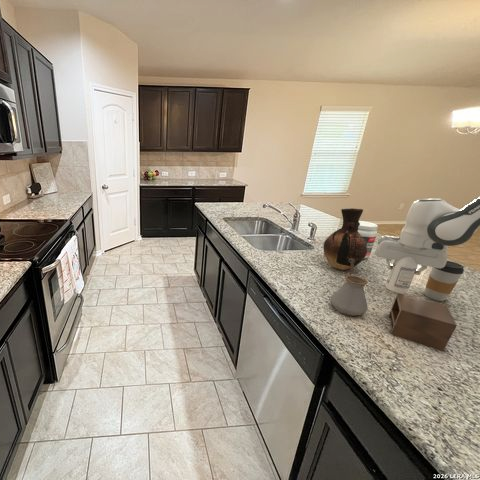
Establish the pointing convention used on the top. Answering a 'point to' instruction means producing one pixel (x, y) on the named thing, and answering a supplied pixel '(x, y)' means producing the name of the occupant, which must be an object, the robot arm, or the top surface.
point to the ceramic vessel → (346, 242)
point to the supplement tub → (368, 234)
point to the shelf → (422, 321)
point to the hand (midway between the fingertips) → (402, 271)
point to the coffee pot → (351, 295)
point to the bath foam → (401, 275)
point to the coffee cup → (443, 280)
